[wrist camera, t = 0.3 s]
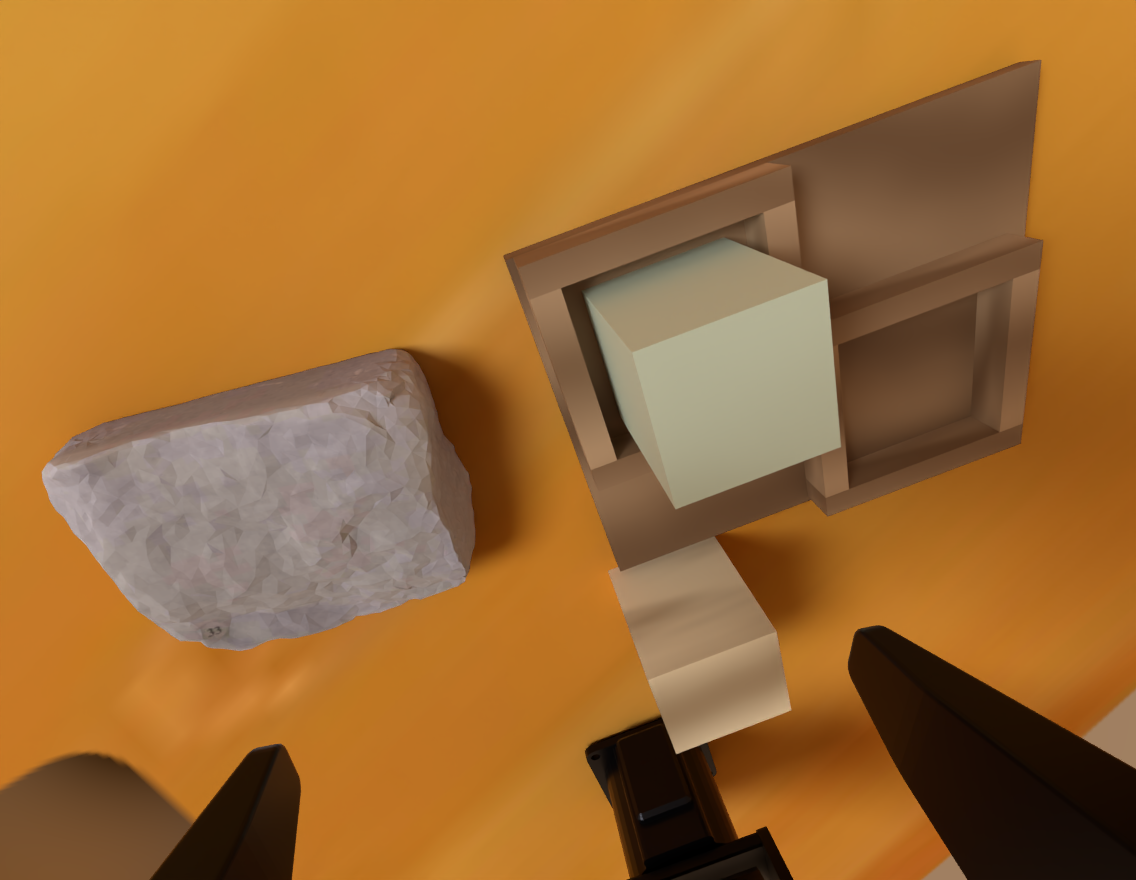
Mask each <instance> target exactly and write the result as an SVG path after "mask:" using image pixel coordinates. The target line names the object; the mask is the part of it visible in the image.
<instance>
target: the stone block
mask: <svg viewBox="0 0 1136 880" xmlns="http://www.w3.org/2000/svg"><path fill="white" fill-rule="evenodd" d="M42 479H43V482H44V485H45V487H46V489H47V492H48V495H49V499H50V502H51V503H52V505H53V506H54V508H55V509H56V511H57V512H58V513H60V514H61V515H62V516H63V517H64V518H65V520H66V521H67V523H68V525H69V526H70V528H71V529H72V531H73V533H74V534H75V535H76V536H77V537H78V538H79V539H80V540H82V541H83V542H84V543H85V544H86V545H87V547H88V548H89V550H90V551H91V553H92V554H93V556H94V557H95V558H96V560H97V561H98V562H99V563H100V565H101V566H102V567H103V569H104V570H105V571H106V572H107V574H108V575H109V576H110V577H111V578H112V580H113V581H114V582H115V583H116V585H117V586H118V588H119V589H120V590H121V592H122V593H123V594H124V595H125V596H126V598H127V599H128V600H129V601H130V602H131V604H132V605H133V606H134V607H135V608H136V609H137V610H138V612H140V613H141V614H143V615H144V616H146V617H147V618H149V619H150V620H151V621H153V622H154V623H155V624H157V625H158V626H159V627H161V628H163V629H164V630H165V631H167V632H168V633H169V634H170V635H171V636H173V637H175V638H176V639H178V640H180V641H199V642H202V643H203V644H204V645H205V646H206V647H210V648H222V649H230V650H238V651H242V650H247V649H252V648H254V647H256V646H258V645H260V644H262V643H264V642H266V641H269V640H274V639H279V638H298V637H302V636H307V635H311V634H315V633H319V632H322V631H325V630H328V629H331V628H335V627H337V626H339V625H341V624H343V623H346V622H348V621H351V620H353V619H354V618H355V616H361V615H368V614H372V613H380V612H382V611H385V610H387V609H390V608H393V607H396V606H399V605H401V604H403V603H405V602H406V601H408V600H409V599H423V598H426V597H428V596H431V595H434V594H437V593H440V592H443V591H446V590H448V589H450V588H453V587H456V586H459V585H460V584H461V583H463V582H465V579H466V576H467V574H468V572H469V569H470V561H471V558H472V551H473V549H474V547H475V524H474V510H473V507H472V499H471V492H472V486H471V483H470V479H469V473H468V472H467V471H466V469H465V468H464V466H463V464H462V462H461V461H460V459H459V458H458V456H457V454H456V452H455V447H454V445H453V444H452V443H451V442H450V441H449V440H448V439H447V438H446V437H445V436H444V434H443V432H442V429H441V425H440V423H439V420H438V413H437V410H436V409H435V403H434V400H433V398H432V395H431V391H430V388H429V385H428V383H427V380H426V377H425V375H424V374H423V372H422V370H421V368H420V365H419V364H418V363H417V362H416V361H415V360H414V358H413V357H412V356H411V355H410V354H409V353H408V352H406V351H404V350H401V349H388V350H384V351H380V352H376V353H370V354H366V355H362V356H359V357H355V358H351V359H348V360H344V361H341V362H338V363H334V364H330V365H326V366H321V367H317V368H314V369H310V370H306V371H303V372H299V373H295V374H291V375H288V376H284V377H280V378H276V379H271V380H267V381H263V382H259V383H256V384H253V385H249V386H246V387H242V388H238V389H234V390H230V391H226V392H221V393H217V394H214V395H210V396H206V397H203V398H199V399H195V400H192V401H189V402H186V403H183V404H179V405H175V406H170V407H166V408H162V409H158V410H154V411H150V412H145V413H141V414H137V415H133V416H129V417H125V418H121V419H118V420H114V421H110V422H106V423H103V424H100V425H98V426H96V427H94V428H92V429H90V430H87V431H85V432H83V433H81V434H79V435H76V436H74V437H72V438H71V439H70V441H69V442H68V443H67V444H66V445H65V446H64V447H63V448H62V449H61V450H59V451H58V452H57V453H56V454H55V456H54V458H53V459H52V460H51V461H49V462H48V463H47V465H46V466H45V468H44V469H43V471H42Z"/></svg>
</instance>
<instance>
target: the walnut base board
mask: <svg viewBox="0 0 1136 880" xmlns="http://www.w3.org/2000/svg"><path fill="white" fill-rule="evenodd" d="M1040 68H1041V60H1035V61H1026V62H1019V63H1016V64H1013V65H1011V66H1008V67H1005V68H1003V69H1000V70H997V71H995V72H992V73H989V74H987V75H984V76H981V77H979V78H976V79H973V80H971V81H968V82H965V83H963V84H960V85H957V86H955V87H952V88H949V89H947V90H944V91H941V92H939V93H936V94H933V95H931V96H928V97H925V98H923V99H920V100H917V101H915V102H912V103H909V104H907V105H904V106H901V107H899V108H896V109H893V110H891V111H888V112H885V113H883V114H880V115H877V116H875V117H872V118H869V119H867V120H864V121H861V122H859V123H856V124H853V125H851V126H848V127H845V128H843V129H840V130H837V131H835V132H832V133H829V134H827V135H824V136H821V137H819V138H816V139H813V140H811V141H808V142H805V143H803V144H800V145H797V146H795V147H792V148H789V149H787V150H784V151H781V152H779V153H776V154H773V155H771V156H768V157H765V158H762V159H760V160H757V161H754V162H752V163H749V164H746V165H744V166H741V167H738V168H736V169H733V170H730V171H728V172H725V173H722V174H720V175H717V176H714V177H712V178H709V179H706V180H704V181H701V182H698V183H696V184H693V185H690V186H688V187H685V188H682V189H680V190H677V191H674V192H672V193H669V194H666V195H664V196H661V197H658V198H656V199H653V200H650V201H648V202H645V203H642V204H640V205H637V206H634V207H632V208H629V209H626V210H624V211H621V212H618V213H616V214H613V215H610V216H608V217H605V218H602V219H600V220H597V221H594V222H592V223H589V224H586V225H584V226H581V227H578V228H576V229H573V230H570V231H568V232H565V233H562V234H560V235H557V236H554V237H552V238H549V239H546V240H544V241H541V242H538V243H536V244H533V245H530V246H528V247H525V248H522V249H520V250H517V251H514V252H512V253H509V254H506V255H504V259H505V262H506V264H507V267H508V270H509V272H510V275H511V278H512V280H513V283H514V286H515V289H516V291H517V294H518V297H519V299H520V302H521V305H522V308H523V310H524V313H525V316H526V318H527V321H528V324H529V326H530V329H531V332H532V335H533V337H534V340H535V343H536V345H537V348H538V351H539V354H540V356H541V359H542V362H543V364H544V367H545V370H546V372H547V375H548V378H549V381H550V383H551V386H552V389H553V391H554V394H555V397H556V400H557V402H558V405H559V408H560V410H561V413H562V416H563V418H564V421H565V424H566V427H567V429H568V432H569V435H570V437H571V440H572V443H573V446H574V448H575V451H576V454H577V456H578V459H579V462H580V464H581V467H582V470H583V473H584V475H585V478H586V481H587V483H588V486H589V489H590V492H591V494H592V497H593V500H594V502H595V505H596V508H597V510H598V513H599V516H600V519H601V521H602V524H603V527H604V529H605V532H606V535H607V538H608V540H609V543H610V546H611V548H612V551H613V554H614V556H615V559H616V562H617V564H618V567H619V569H620V572H621V571H624V570H626V569H629V568H632V567H634V566H637V565H640V564H642V563H645V562H648V561H650V560H653V559H655V558H658V557H661V556H663V555H666V554H669V553H671V552H674V551H677V550H679V549H682V548H685V547H687V546H690V545H693V544H695V543H698V542H700V541H703V540H706V539H708V538H711V537H714V536H716V535H719V534H722V533H724V532H727V531H730V530H732V529H735V528H737V527H740V526H743V525H745V524H748V523H751V522H753V521H756V520H759V519H761V518H764V517H767V516H769V515H772V514H775V513H777V512H780V511H782V510H785V509H788V508H790V507H793V506H796V505H798V504H801V503H804V502H806V501H809V500H812V501H813V502H814V503H815V504H816V505H817V506H818V507H819V508H820V509H821V510H822V511H823V512H824V513H825V514H826V515H827V516H830V515H833V514H836V513H838V512H841V511H843V510H846V509H849V508H851V507H854V506H857V505H859V504H862V503H865V502H867V501H870V500H873V499H875V498H878V497H881V496H883V495H886V494H888V493H891V492H894V491H896V490H899V489H902V488H904V487H907V486H910V485H912V484H915V483H918V482H920V481H923V480H925V479H928V478H931V477H933V476H936V475H939V474H941V473H944V472H947V471H949V470H952V469H955V468H957V467H960V466H963V465H965V464H968V463H970V462H973V461H976V460H978V459H981V458H984V457H986V456H989V455H992V454H994V453H997V452H1000V451H1002V450H1005V449H1007V448H1010V447H1013V446H1015V445H1018V444H1021V436H1022V427H1023V418H1024V409H1025V400H1026V391H1027V382H1028V373H1029V364H1030V355H1031V346H1032V337H1033V328H1034V319H1035V310H1036V301H1037V292H1038V283H1039V274H1040V265H1041V256H1042V247H1043V240H1039V239H1034V238H1028V237H1025V227H1026V217H1027V206H1028V196H1029V185H1030V174H1031V164H1032V153H1033V142H1034V132H1035V121H1036V111H1037V100H1038V89H1039V79H1040ZM723 237H724V238H727V239H729V240H732V241H734V242H737V243H739V244H742V245H744V246H747V247H749V248H752V249H754V250H757V251H759V252H761V253H764V254H766V255H769V256H771V257H774V258H776V259H779V260H781V261H784V262H786V263H789V264H791V265H794V266H796V267H798V268H801V269H803V270H806V271H808V272H811V273H813V274H816V275H818V276H821V277H823V278H826V279H827V283H828V295H829V307H830V319H831V331H832V344H833V356H834V368H835V380H836V392H837V404H838V417H839V429H840V441H841V447H840V448H837V449H834V450H832V451H829V452H826V453H824V454H821V455H818V456H816V457H813V458H810V459H808V460H805V461H802V462H800V463H797V464H795V465H792V466H789V467H787V468H784V469H781V470H779V471H776V472H773V473H771V474H768V475H765V476H763V477H760V478H757V479H755V480H752V481H749V482H747V483H744V484H742V485H739V486H736V487H734V488H731V489H728V490H726V491H723V492H720V493H718V494H715V495H712V496H710V497H707V498H704V499H702V500H699V501H696V502H694V503H691V504H689V505H686V506H683V507H681V508H678V509H675V507H674V506H673V504H672V502H671V501H670V499H669V497H668V496H667V494H666V492H665V491H664V489H663V487H662V486H661V484H660V482H659V481H658V479H657V477H656V475H655V474H654V472H653V470H652V469H651V467H650V465H649V464H648V462H647V460H646V459H645V457H644V455H643V454H642V452H641V450H640V449H639V447H638V445H637V444H636V442H635V440H634V439H633V437H632V435H631V434H630V432H629V430H628V429H627V427H626V425H625V424H624V422H623V420H622V418H621V417H620V413H619V410H618V407H617V404H616V400H615V397H614V394H613V391H612V388H611V384H610V381H609V378H608V375H607V371H606V368H605V365H604V362H603V358H602V355H601V352H600V349H599V346H598V342H597V339H596V336H595V333H594V329H593V326H592V323H591V320H590V316H589V313H588V310H587V307H586V304H585V300H584V297H583V294H582V290H585V289H587V288H590V287H593V286H595V285H598V284H601V283H603V282H606V281H609V280H611V279H614V278H617V277H619V276H622V275H625V274H627V273H630V272H633V271H635V270H638V269H640V268H643V267H646V266H648V265H651V264H654V263H656V262H659V261H662V260H664V259H667V258H670V257H672V256H675V255H678V254H680V253H683V252H686V251H688V250H691V249H694V248H696V247H699V246H702V245H704V244H707V243H710V242H712V241H715V240H718V239H720V238H723Z"/></svg>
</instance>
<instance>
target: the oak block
mask: <svg viewBox="0 0 1136 880" xmlns="http://www.w3.org/2000/svg"><path fill="white" fill-rule="evenodd" d="M608 572H609V575H610V578H611V580H612V583H613V586H614V589H615V592H616V594H617V597H618V600H619V603H620V605H621V608H622V611H623V614H624V616H625V619H626V622H627V625H628V627H629V630H630V633H631V636H632V638H633V641H634V644H635V647H636V649H637V652H638V655H639V658H640V660H641V663H642V666H643V669H644V671H645V674H646V677H647V680H648V682H649V685H650V687H651V690H652V693H653V695H654V698H655V700H656V703H657V706H658V708H659V711H660V713H661V716H662V718H663V721H664V724H665V726H666V729H667V731H668V734H669V736H670V739H671V742H672V744H673V747H674V749H675V752H676V754H678V753H681V752H683V751H686V750H688V749H691V748H694V747H696V746H699V745H702V744H704V743H707V742H709V741H712V740H715V739H717V738H720V737H723V736H725V735H728V734H731V733H733V732H736V731H738V730H741V729H744V728H746V727H749V726H752V725H754V724H757V723H759V722H762V721H765V720H767V719H770V718H773V717H775V716H778V715H781V714H783V713H786V712H788V711H791V706H790V701H789V695H788V690H787V685H786V679H785V674H784V669H783V663H782V658H781V653H780V647H779V642H778V637H777V631H776V630H775V628H774V627H773V625H772V624H771V622H770V621H769V619H768V618H767V616H766V615H765V613H764V611H763V610H762V608H761V607H760V605H759V604H758V602H757V601H756V599H755V598H754V596H753V595H752V593H751V591H750V590H749V588H748V587H747V585H746V584H745V582H744V581H743V579H742V578H741V576H740V575H739V573H738V572H737V570H736V568H735V567H734V565H733V564H732V562H731V561H730V559H729V558H728V556H727V555H726V553H725V552H724V550H723V548H722V547H721V545H720V544H719V542H718V541H717V539H716V538H715V536H714V537H711V538H708V539H706V540H703V541H700V542H698V543H695V544H693V545H690V546H687V547H685V548H682V549H679V550H677V551H674V552H671V553H669V554H666V555H663V556H661V557H658V558H655V559H653V560H650V561H648V562H645V563H642V564H640V565H637V566H634V567H632V568H629V569H626V570H624V571H621V572H620V569H619V567H617V568H614V569H612V570H609V571H608Z"/></svg>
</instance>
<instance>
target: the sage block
mask: <svg viewBox="0 0 1136 880" xmlns="http://www.w3.org/2000/svg"><path fill="white" fill-rule="evenodd" d="M582 294H583V297H584V300H585V304H586V307H587V310H588V313H589V316H590V320H591V323H592V326H593V329H594V333H595V336H596V339H597V342H598V346H599V349H600V352H601V355H602V358H603V362H604V365H605V368H606V371H607V375H608V378H609V381H610V384H611V388H612V391H613V394H614V397H615V400H616V404H617V407H618V410H619V413H620V417H621V418H622V420H623V422H624V424H625V425H626V427H627V429H628V430H629V432H630V434H631V435H632V437H633V439H634V440H635V442H636V444H637V445H638V447H639V449H640V450H641V452H642V454H643V455H644V457H645V459H646V460H647V462H648V464H649V465H650V467H651V469H652V470H653V472H654V474H655V475H656V477H657V479H658V481H659V482H660V484H661V486H662V487H663V489H664V491H665V492H666V494H667V496H668V497H669V499H670V501H671V502H672V504H673V506H674V507H675V509H678V508H681V507H683V506H686V505H689V504H691V503H694V502H696V501H699V500H702V499H704V498H707V497H710V496H712V495H715V494H718V493H720V492H723V491H726V490H728V489H731V488H734V487H736V486H739V485H742V484H744V483H747V482H749V481H752V480H755V479H757V478H760V477H763V476H765V475H768V474H771V473H773V472H776V471H779V470H781V469H784V468H787V467H789V466H792V465H795V464H797V463H800V462H802V461H805V460H808V459H810V458H813V457H816V456H818V455H821V454H824V453H826V452H829V451H832V450H834V449H837V448H840V447H841V441H840V429H839V417H838V404H837V392H836V380H835V368H834V356H833V344H832V331H831V319H830V307H829V295H828V283H827V279H826V278H823V277H821V276H818V275H816V274H813V273H811V272H808V271H806V270H803V269H801V268H798V267H796V266H794V265H791V264H789V263H786V262H784V261H781V260H779V259H776V258H774V257H771V256H769V255H766V254H764V253H761V252H759V251H757V250H754V249H752V248H749V247H747V246H744V245H742V244H739V243H737V242H734V241H732V240H729V239H727V238H724V237H723V238H720V239H718V240H715V241H712V242H710V243H707V244H704V245H702V246H699V247H696V248H694V249H691V250H688V251H686V252H683V253H680V254H678V255H675V256H672V257H670V258H667V259H664V260H662V261H659V262H656V263H654V264H651V265H648V266H646V267H643V268H640V269H638V270H635V271H633V272H630V273H627V274H625V275H622V276H619V277H617V278H614V279H611V280H609V281H606V282H603V283H601V284H598V285H595V286H593V287H590V288H587V289H585V290H582Z"/></svg>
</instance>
